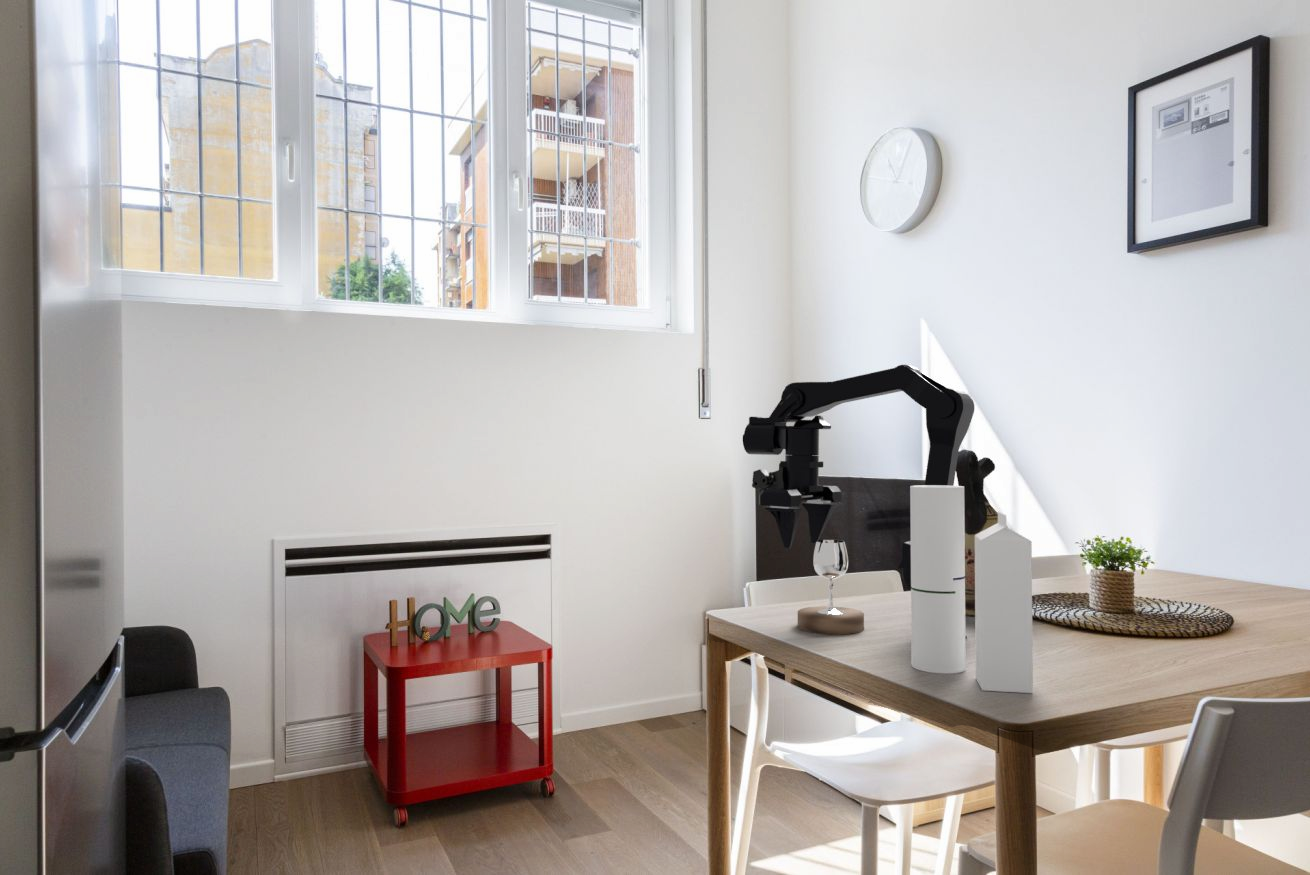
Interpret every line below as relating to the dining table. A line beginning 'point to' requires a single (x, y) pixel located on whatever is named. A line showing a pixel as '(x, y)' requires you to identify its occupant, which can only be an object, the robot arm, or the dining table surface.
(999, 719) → the dining table surface
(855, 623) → the walnut riser
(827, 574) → the wineglass
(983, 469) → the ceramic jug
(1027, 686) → the milk
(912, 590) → the cylindrical container
